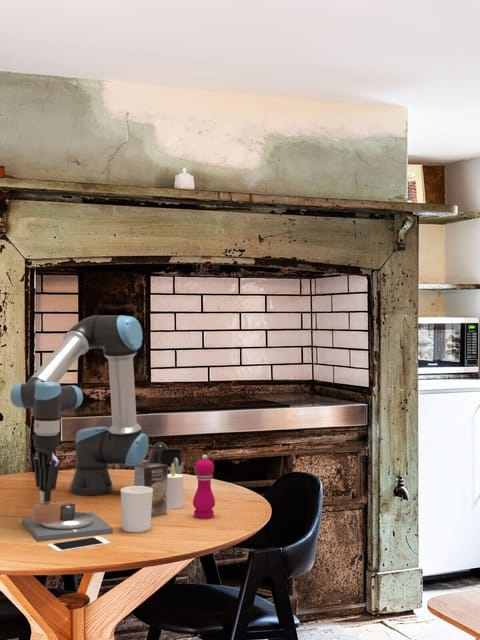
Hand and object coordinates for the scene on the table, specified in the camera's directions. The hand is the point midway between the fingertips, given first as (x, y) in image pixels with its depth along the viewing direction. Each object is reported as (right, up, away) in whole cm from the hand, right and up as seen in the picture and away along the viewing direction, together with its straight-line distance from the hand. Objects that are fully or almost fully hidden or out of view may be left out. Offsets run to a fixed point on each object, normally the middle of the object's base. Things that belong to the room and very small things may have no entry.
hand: (45, 511), depth 245 cm
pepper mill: (+47, -6, +18) cm, 51 cm away
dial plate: (+6, -5, +1) cm, 8 cm away
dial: (+5, -3, +1) cm, 6 cm away
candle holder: (+27, -6, +2) cm, 28 cm away
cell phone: (+13, -6, -15) cm, 21 cm away
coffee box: (+29, -6, +20) cm, 36 cm away
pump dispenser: (+27, -5, +71) cm, 76 cm away
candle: (+36, -6, +31) cm, 48 cm away
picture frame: (+34, -5, +51) cm, 61 cm away
